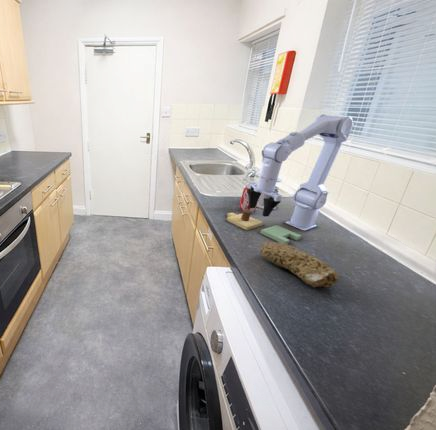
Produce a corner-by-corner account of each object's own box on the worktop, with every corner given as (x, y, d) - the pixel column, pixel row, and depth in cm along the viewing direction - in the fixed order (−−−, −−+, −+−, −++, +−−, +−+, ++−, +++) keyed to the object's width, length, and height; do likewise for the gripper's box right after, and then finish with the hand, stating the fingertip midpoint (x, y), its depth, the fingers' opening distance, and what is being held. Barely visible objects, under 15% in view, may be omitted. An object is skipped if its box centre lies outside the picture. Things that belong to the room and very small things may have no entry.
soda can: (256, 214, 121) (263, 190, 116) (240, 213, 122) (246, 188, 117) (252, 208, 127) (258, 185, 122) (236, 207, 129) (242, 183, 124)
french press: (276, 204, 133) (292, 154, 122) (275, 212, 124) (291, 159, 113) (255, 200, 137) (268, 152, 127) (252, 207, 129) (266, 156, 118)
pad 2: (275, 228, 110) (276, 224, 109) (300, 239, 102) (301, 235, 101) (260, 233, 105) (261, 229, 105) (284, 244, 97) (285, 241, 97)
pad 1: (236, 213, 122) (239, 202, 119) (262, 225, 112) (265, 213, 109) (221, 217, 117) (223, 206, 115) (246, 230, 107) (249, 218, 105)
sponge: (336, 289, 77) (287, 243, 93) (347, 272, 72) (294, 226, 88) (295, 300, 76) (253, 251, 92) (304, 284, 71) (258, 235, 87)
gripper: (245, 172, 101) (237, 205, 106) (273, 184, 88) (262, 220, 94) (261, 171, 102) (253, 204, 108) (291, 183, 89) (279, 219, 95)
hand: (258, 211), depth 101 cm, fingers open, 7 cm apart
